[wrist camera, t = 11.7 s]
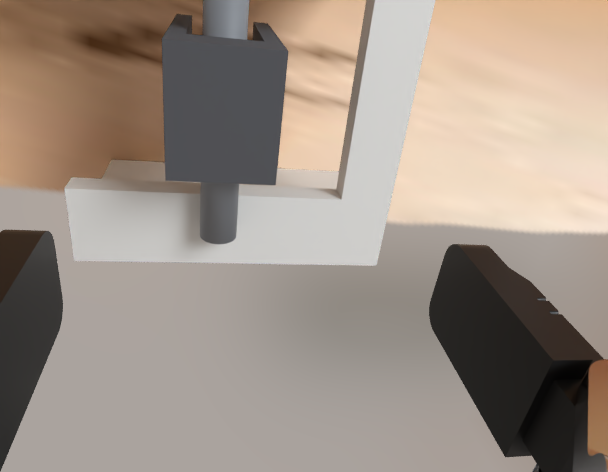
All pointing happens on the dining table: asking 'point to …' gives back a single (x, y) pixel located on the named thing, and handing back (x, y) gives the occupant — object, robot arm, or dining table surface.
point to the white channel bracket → (289, 182)
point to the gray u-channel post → (222, 105)
